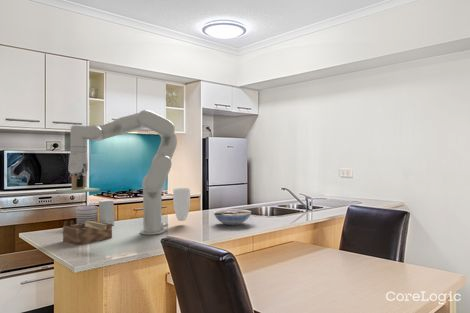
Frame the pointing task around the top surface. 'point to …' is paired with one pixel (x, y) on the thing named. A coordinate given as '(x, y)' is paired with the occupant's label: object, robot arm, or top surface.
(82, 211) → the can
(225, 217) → the ramen bowl
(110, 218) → the skincare box
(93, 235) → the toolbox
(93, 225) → the wooden bar
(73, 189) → the lid
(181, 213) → the cup
